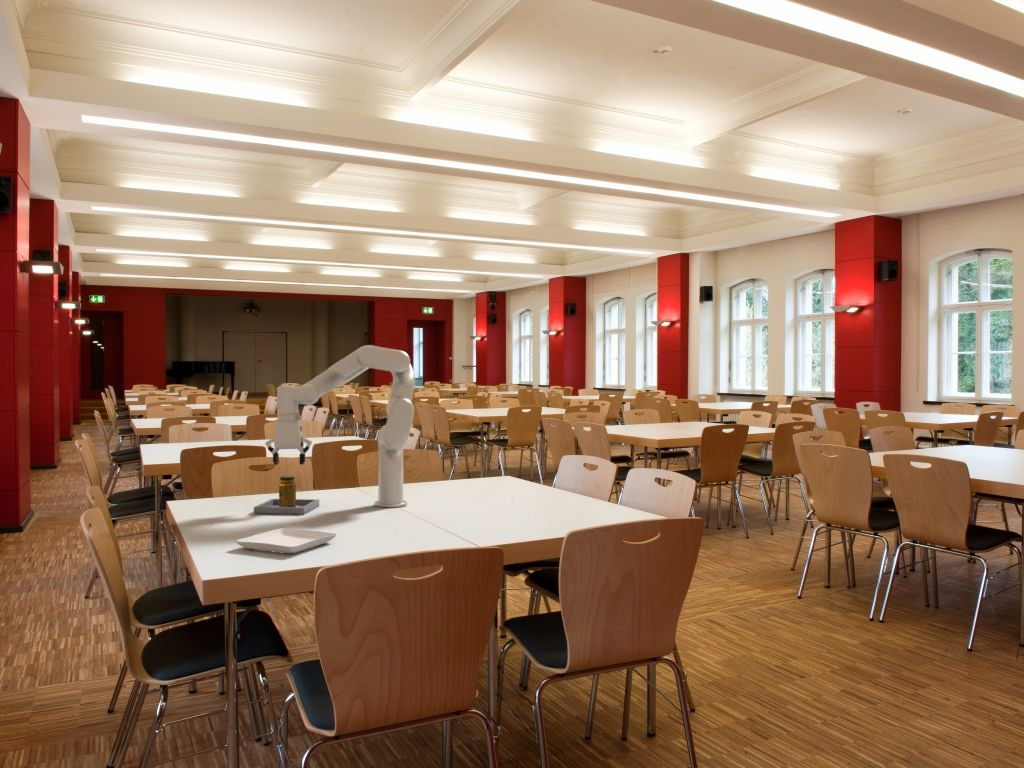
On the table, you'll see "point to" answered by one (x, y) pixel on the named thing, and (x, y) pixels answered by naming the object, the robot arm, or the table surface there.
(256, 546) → the salad plate
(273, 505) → the tray
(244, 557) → the table surface
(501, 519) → the table surface
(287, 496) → the condiment
